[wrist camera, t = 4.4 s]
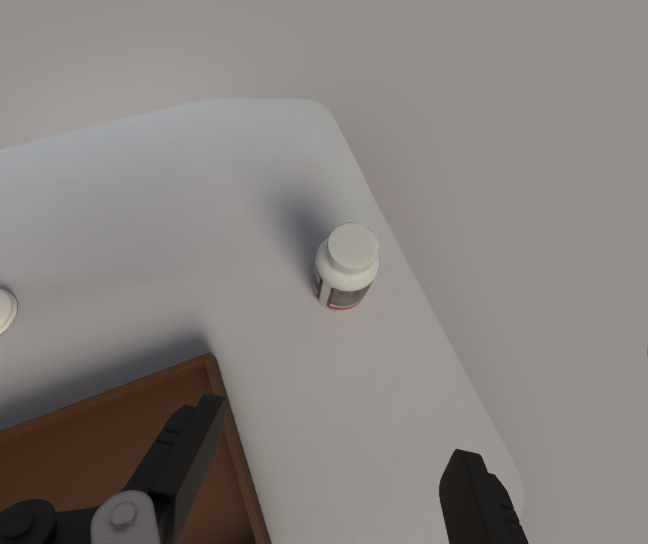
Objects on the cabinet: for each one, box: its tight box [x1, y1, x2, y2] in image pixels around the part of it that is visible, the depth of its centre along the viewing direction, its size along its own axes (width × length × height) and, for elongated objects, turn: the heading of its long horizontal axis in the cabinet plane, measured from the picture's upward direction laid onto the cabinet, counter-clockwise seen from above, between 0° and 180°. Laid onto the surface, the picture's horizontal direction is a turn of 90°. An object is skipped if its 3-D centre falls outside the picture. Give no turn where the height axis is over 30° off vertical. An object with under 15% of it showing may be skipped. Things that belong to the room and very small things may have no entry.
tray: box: [0, 353, 271, 544], centre depth 27 cm, size 21×16×3 cm
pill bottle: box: [313, 222, 379, 312], centre depth 32 cm, size 5×5×10 cm
